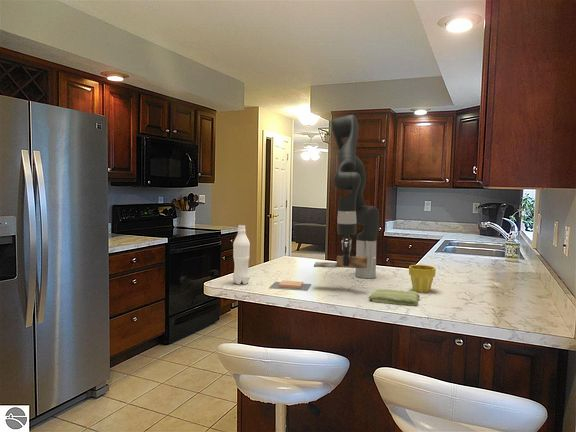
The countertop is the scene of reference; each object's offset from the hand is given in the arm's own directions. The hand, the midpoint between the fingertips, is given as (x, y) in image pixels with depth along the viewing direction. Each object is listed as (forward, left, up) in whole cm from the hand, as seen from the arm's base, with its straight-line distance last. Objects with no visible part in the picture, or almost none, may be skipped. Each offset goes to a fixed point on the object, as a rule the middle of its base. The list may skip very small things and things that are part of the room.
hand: (346, 264), depth 170 cm
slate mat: (+23, 0, -11) cm, 25 cm away
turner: (+2, 0, -1) cm, 2 cm away
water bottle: (+45, -2, -11) cm, 46 cm away
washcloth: (-19, +9, -12) cm, 24 cm away
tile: (+18, 0, -10) cm, 20 cm away
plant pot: (-30, -9, -11) cm, 34 cm away
